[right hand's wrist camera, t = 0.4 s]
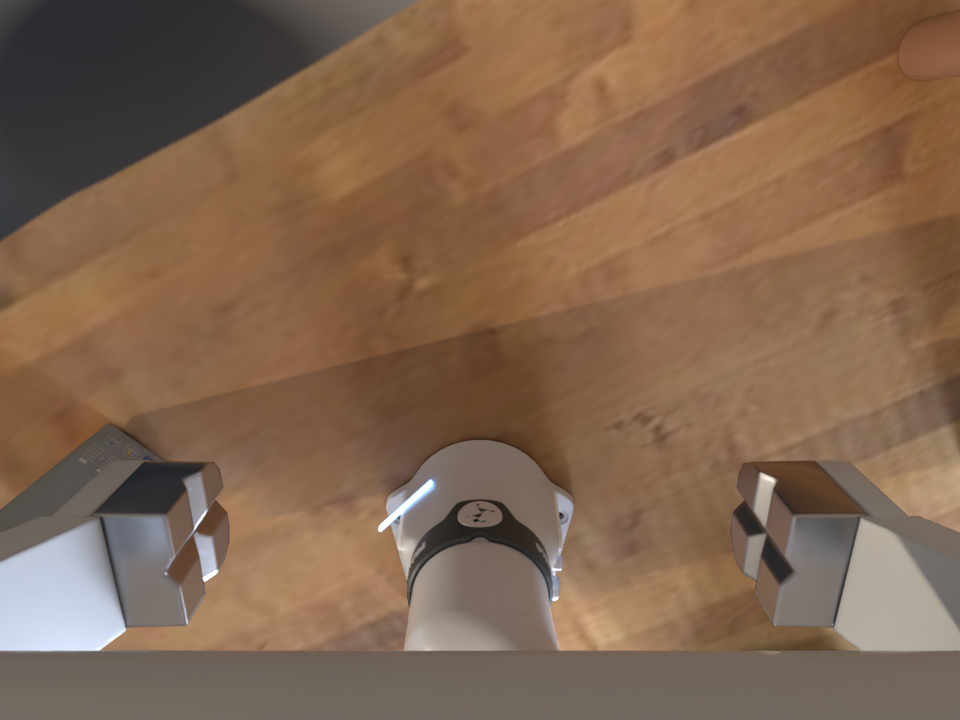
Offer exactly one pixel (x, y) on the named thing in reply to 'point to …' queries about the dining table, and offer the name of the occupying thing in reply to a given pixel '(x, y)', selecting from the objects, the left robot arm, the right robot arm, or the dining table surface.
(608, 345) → the dining table surface
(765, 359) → the dining table surface
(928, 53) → the bottle
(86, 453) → the hard drive box
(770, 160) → the dining table surface
